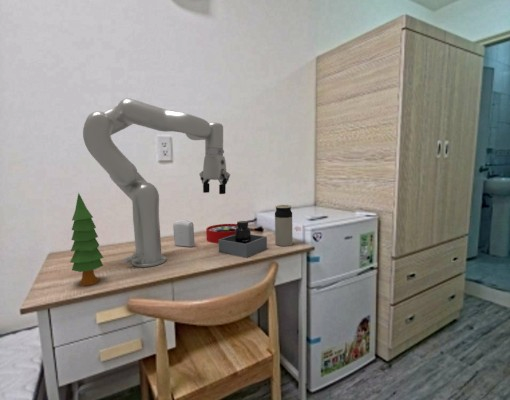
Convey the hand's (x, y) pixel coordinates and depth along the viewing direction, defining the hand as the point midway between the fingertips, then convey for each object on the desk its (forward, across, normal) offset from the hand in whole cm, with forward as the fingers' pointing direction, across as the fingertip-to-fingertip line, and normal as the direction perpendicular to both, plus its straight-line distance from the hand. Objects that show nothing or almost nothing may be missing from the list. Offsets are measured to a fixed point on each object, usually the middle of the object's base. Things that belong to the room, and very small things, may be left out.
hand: (214, 193), depth 129 cm
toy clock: (+25, +11, -20) cm, 34 cm away
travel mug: (+24, -20, -26) cm, 41 cm away
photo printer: (+26, +19, +1) cm, 32 cm away
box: (+25, -10, -8) cm, 28 cm away
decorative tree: (+28, +10, +48) cm, 56 cm away
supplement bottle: (+24, -10, -8) cm, 27 cm away
